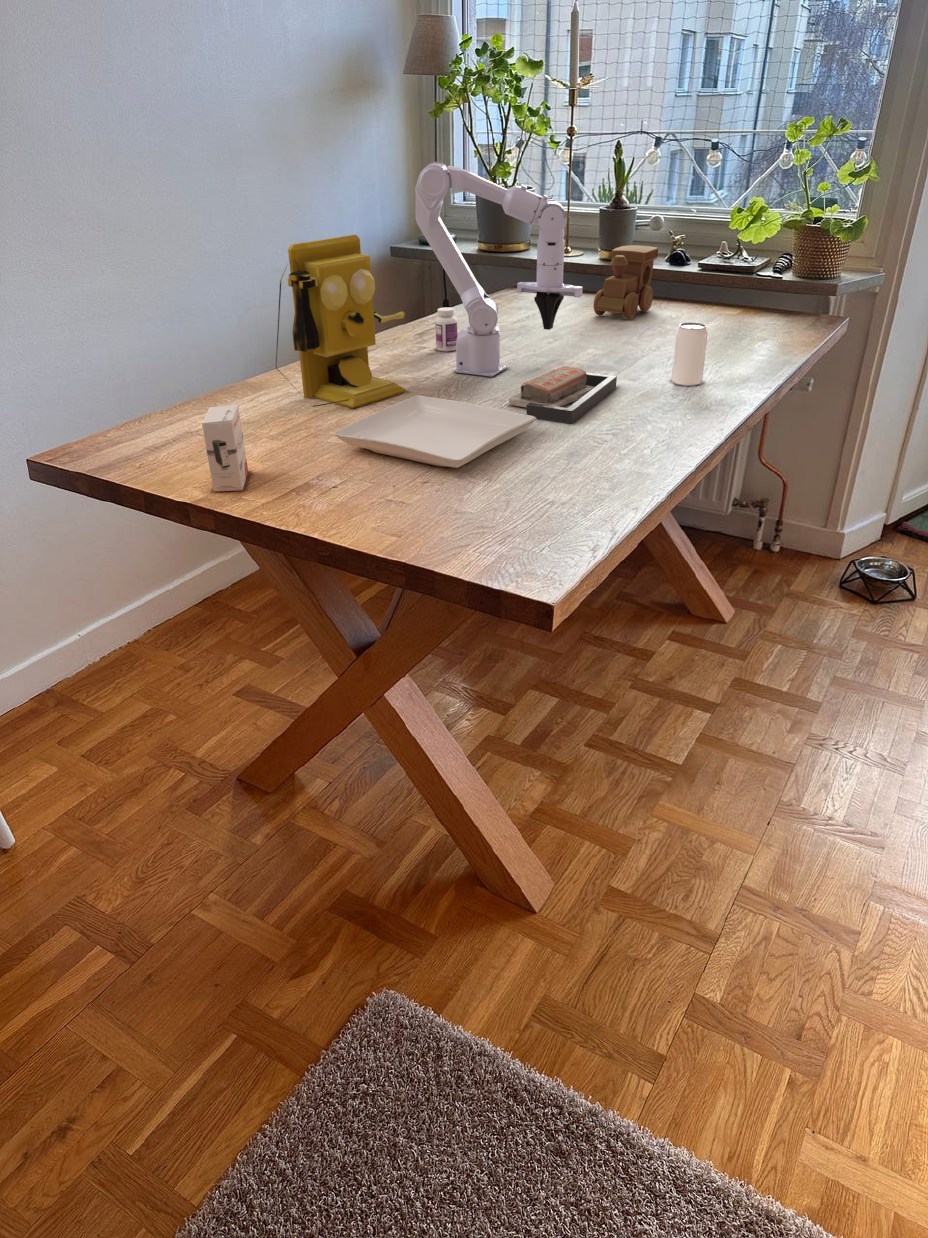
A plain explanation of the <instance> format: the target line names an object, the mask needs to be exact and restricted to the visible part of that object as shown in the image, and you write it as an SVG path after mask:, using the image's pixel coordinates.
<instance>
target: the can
mask: <svg viewBox="0 0 928 1238" xmlns="http://www.w3.org/2000/svg"><path fill="white" fill-rule="evenodd" d="M678 326H679V327H678V329H677V331H676V333H675V341H674V350H673V351H674V352H673V362H672V372H671V381H672V384H675V385H678V386H682V387H694V386H699V385H701V383H702V382H703V376H704V368H705V360H706V354H707V353H706V352H707V343H708V334H709V333H708V330H707V327H708V326H707V324H705V323H702V322H693V321H692V322H691V321H690V322H689V321H687V322H682V323H680V324H679V325H678Z"/></svg>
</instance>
